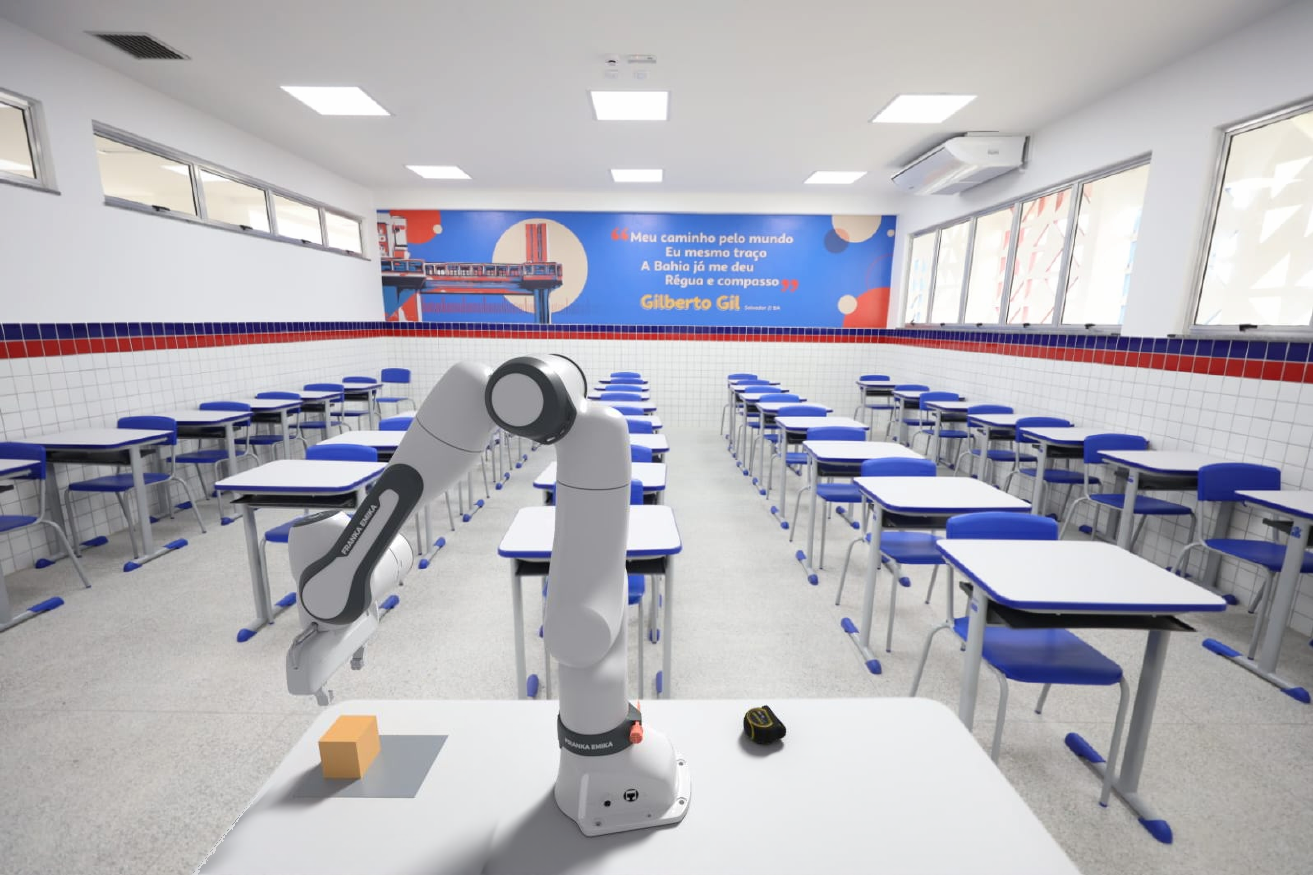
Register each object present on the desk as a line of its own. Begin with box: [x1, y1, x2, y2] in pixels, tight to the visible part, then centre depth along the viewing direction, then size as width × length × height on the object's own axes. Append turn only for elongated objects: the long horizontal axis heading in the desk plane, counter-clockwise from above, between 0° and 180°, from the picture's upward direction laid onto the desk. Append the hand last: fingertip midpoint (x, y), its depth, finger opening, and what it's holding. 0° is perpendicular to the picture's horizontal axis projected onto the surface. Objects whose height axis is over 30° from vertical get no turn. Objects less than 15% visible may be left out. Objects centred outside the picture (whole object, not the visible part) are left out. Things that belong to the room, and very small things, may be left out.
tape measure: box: [742, 704, 787, 745], centre depth 104 cm, size 7×7×4 cm
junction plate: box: [292, 734, 449, 799], centre depth 97 cm, size 20×14×6 cm
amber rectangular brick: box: [317, 714, 381, 778], centre depth 97 cm, size 6×6×7 cm
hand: (343, 684), depth 94 cm, fingers open, 8 cm apart
